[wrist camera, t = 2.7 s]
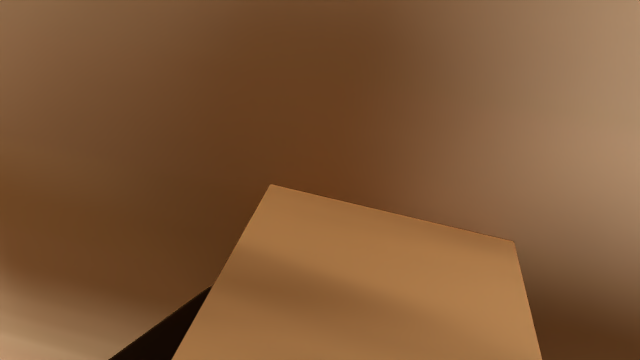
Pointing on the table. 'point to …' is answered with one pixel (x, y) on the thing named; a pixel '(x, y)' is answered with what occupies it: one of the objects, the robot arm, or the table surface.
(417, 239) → the maple block
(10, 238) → the table surface
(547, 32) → the table surface
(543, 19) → the table surface
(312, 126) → the table surface
